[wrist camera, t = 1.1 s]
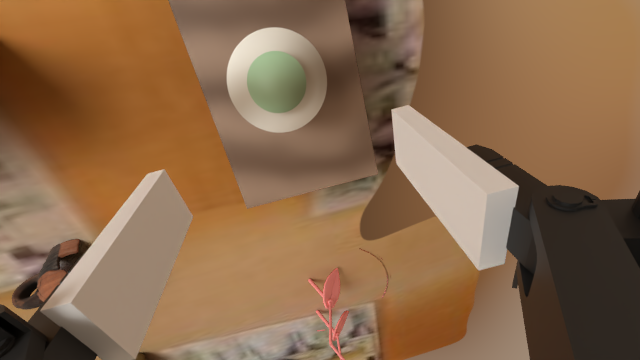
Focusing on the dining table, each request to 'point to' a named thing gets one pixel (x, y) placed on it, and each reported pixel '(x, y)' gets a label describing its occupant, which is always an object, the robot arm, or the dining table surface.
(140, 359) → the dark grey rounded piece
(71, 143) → the dining table surface
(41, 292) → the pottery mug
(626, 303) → the robot arm
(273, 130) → the panel with push button
